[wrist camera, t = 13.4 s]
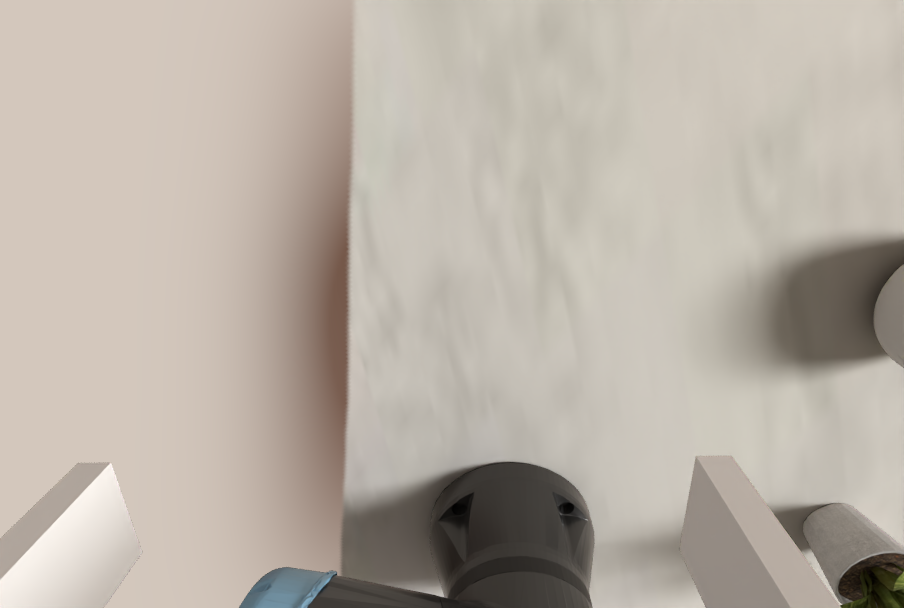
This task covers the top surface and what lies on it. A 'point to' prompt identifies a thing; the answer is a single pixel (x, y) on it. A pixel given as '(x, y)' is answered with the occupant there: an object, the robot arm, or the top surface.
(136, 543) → the robot arm
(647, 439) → the top surface
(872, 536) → the house plant
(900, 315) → the teacup
